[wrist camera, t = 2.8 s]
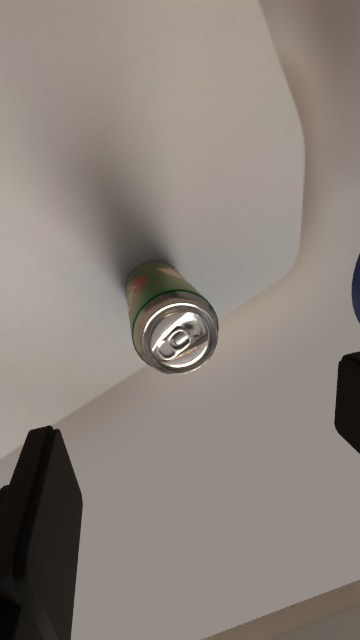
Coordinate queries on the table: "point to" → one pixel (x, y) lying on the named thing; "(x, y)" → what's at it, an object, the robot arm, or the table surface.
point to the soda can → (169, 319)
